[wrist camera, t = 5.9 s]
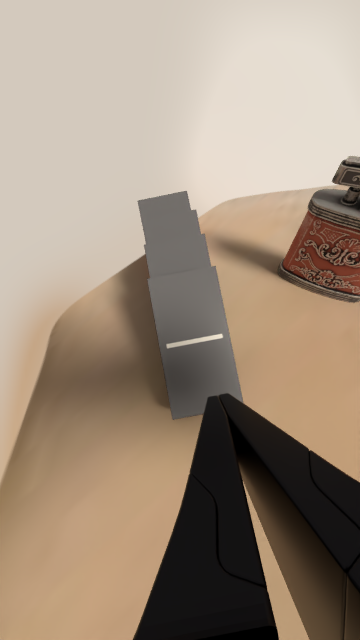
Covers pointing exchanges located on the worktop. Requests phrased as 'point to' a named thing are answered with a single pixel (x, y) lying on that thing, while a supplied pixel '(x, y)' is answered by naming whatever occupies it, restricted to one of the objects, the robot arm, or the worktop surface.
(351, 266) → the lighter
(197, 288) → the domino
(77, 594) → the worktop surface
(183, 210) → the domino
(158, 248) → the domino
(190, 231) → the domino
